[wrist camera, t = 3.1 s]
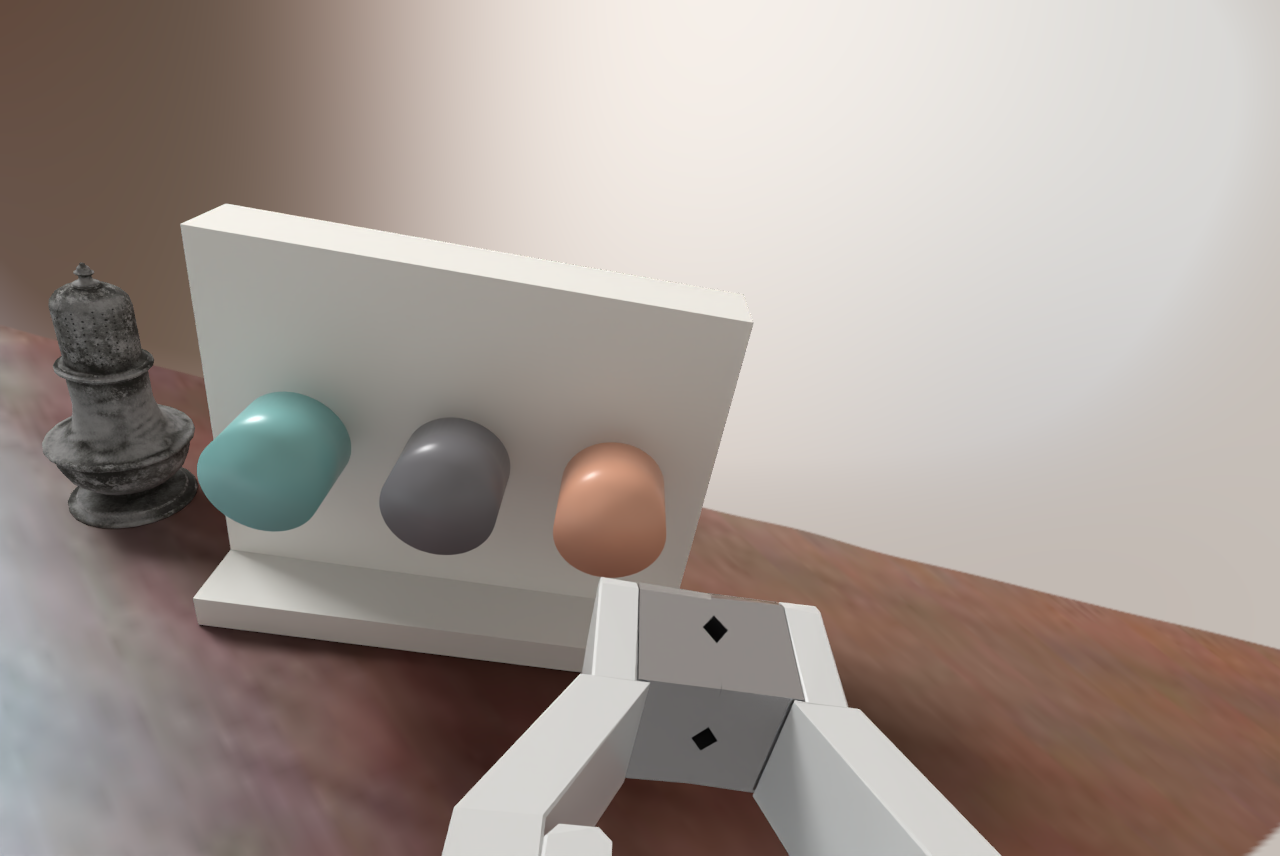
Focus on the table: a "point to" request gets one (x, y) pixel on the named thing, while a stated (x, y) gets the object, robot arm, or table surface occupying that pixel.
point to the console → (443, 388)
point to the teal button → (275, 462)
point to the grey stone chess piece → (114, 414)
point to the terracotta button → (611, 511)
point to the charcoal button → (446, 487)
